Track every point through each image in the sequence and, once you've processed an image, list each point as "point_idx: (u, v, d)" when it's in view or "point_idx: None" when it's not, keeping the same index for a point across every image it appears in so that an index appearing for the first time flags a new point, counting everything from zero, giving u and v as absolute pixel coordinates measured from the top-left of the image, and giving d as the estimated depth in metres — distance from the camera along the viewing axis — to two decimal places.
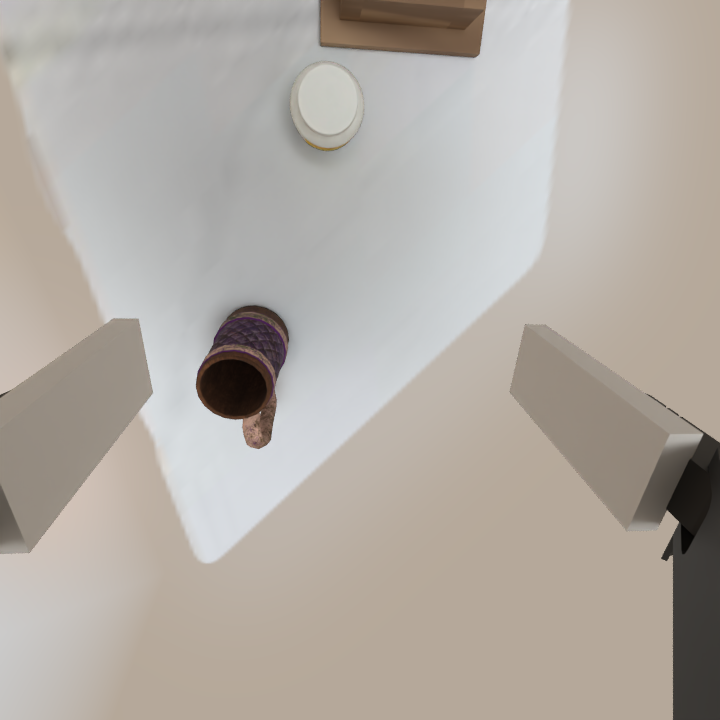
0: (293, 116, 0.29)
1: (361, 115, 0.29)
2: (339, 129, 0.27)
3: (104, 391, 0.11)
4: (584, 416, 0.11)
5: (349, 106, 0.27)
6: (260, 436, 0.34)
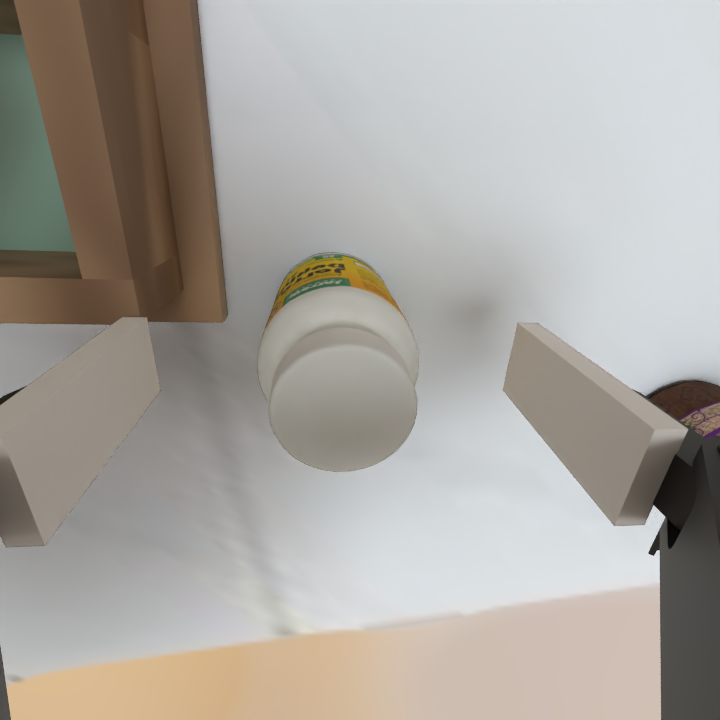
0: None
1: (357, 300, 0.12)
2: (407, 387, 0.11)
3: (114, 388, 0.11)
4: (574, 413, 0.11)
5: (356, 365, 0.10)
6: None
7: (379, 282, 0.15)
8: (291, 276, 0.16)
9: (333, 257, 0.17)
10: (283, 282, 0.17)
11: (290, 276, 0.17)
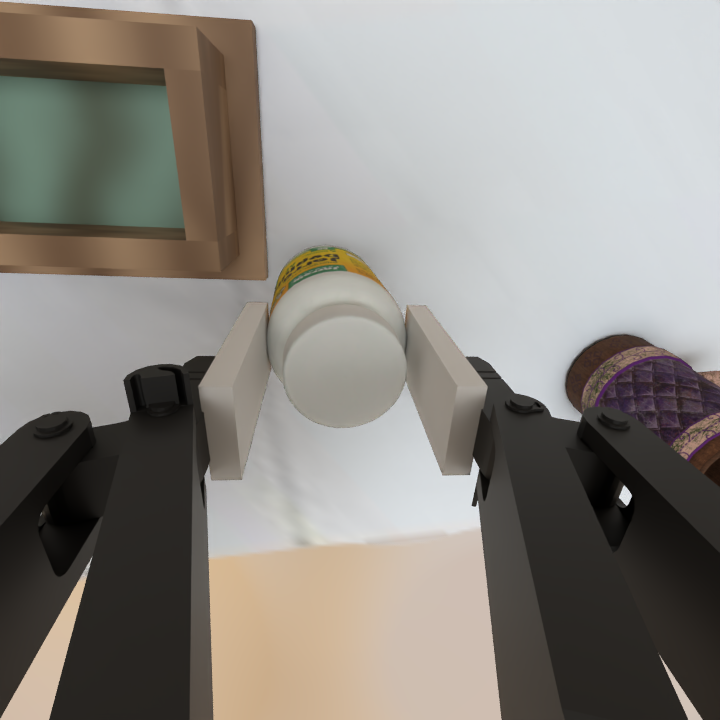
0: None
1: (354, 282, 0.14)
2: (398, 352, 0.13)
3: (259, 360, 0.13)
4: (428, 381, 0.12)
5: (356, 333, 0.12)
6: None
7: (369, 270, 0.17)
8: (290, 266, 0.18)
9: (327, 249, 0.19)
10: (282, 272, 0.19)
11: (289, 266, 0.18)
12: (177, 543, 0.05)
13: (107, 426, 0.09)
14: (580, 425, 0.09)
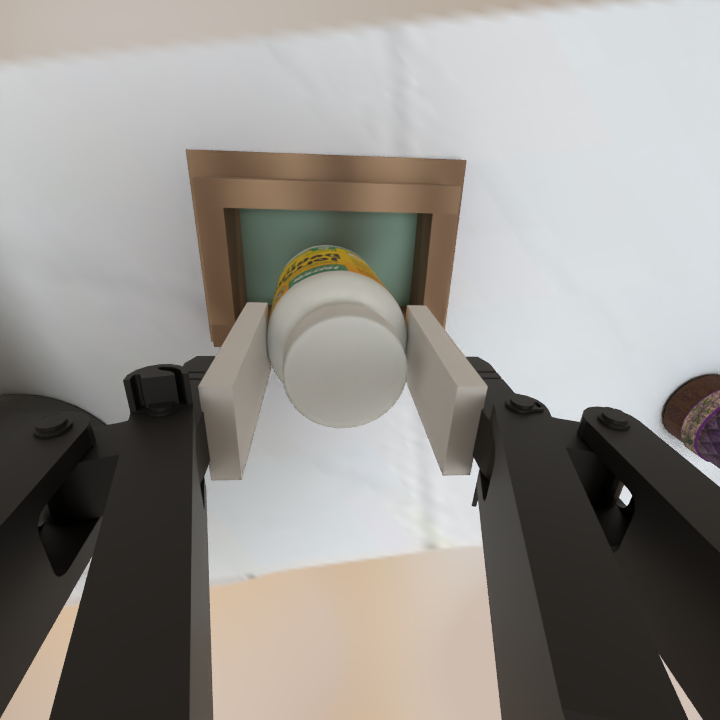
0: None
1: (354, 282, 0.14)
2: (399, 352, 0.13)
3: (258, 360, 0.13)
4: (428, 381, 0.12)
5: (356, 333, 0.12)
6: None
7: (370, 269, 0.17)
8: (291, 265, 0.18)
9: (328, 248, 0.19)
10: (283, 272, 0.19)
11: (290, 266, 0.18)
12: (176, 543, 0.05)
13: (107, 426, 0.09)
14: (580, 425, 0.09)
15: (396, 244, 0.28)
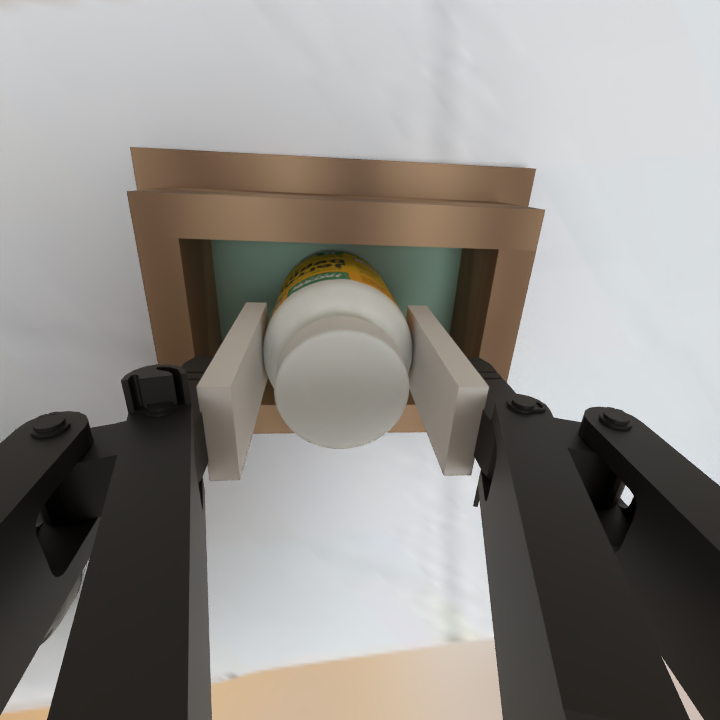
0: None
1: (356, 292, 0.13)
2: (400, 370, 0.12)
3: (257, 360, 0.13)
4: (429, 381, 0.12)
5: (353, 349, 0.11)
6: None
7: (377, 277, 0.16)
8: (294, 271, 0.17)
9: (334, 254, 0.18)
10: (287, 277, 0.18)
11: (293, 271, 0.18)
12: (174, 543, 0.05)
13: (105, 426, 0.09)
14: (582, 425, 0.09)
15: (431, 283, 0.20)
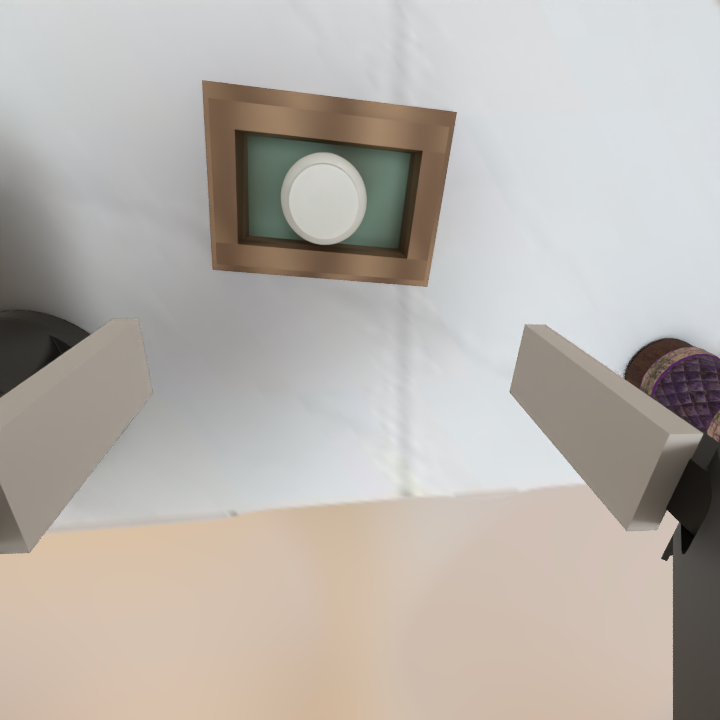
0: (334, 242, 0.26)
1: (334, 157, 0.24)
2: (354, 191, 0.22)
3: (104, 391, 0.11)
4: (584, 416, 0.11)
5: (330, 175, 0.22)
6: None
7: None
8: None
9: None
10: None
11: None
12: None
13: None
14: None
15: (389, 187, 0.31)
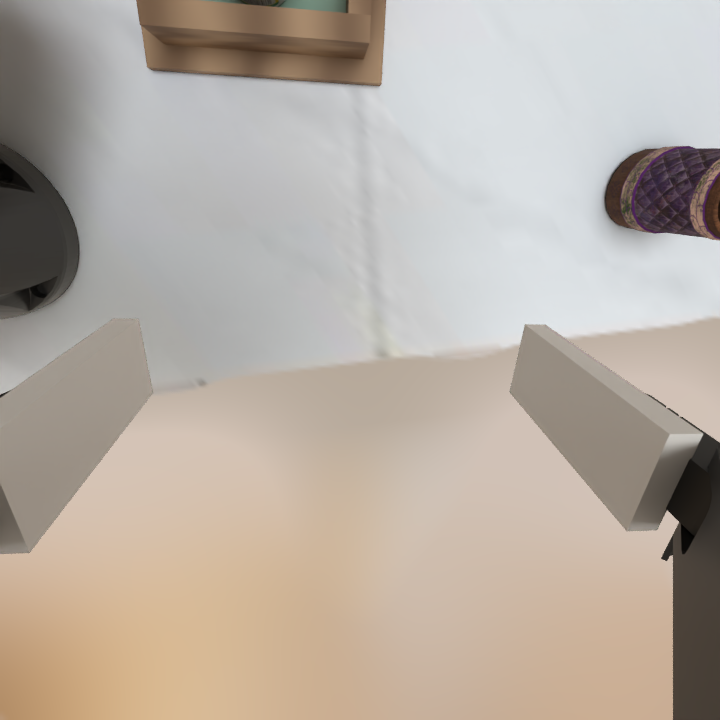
0: None
1: None
2: None
3: (104, 391, 0.11)
4: (584, 416, 0.11)
5: None
6: None
7: None
8: None
9: None
10: None
11: None
12: None
13: None
14: None
15: None
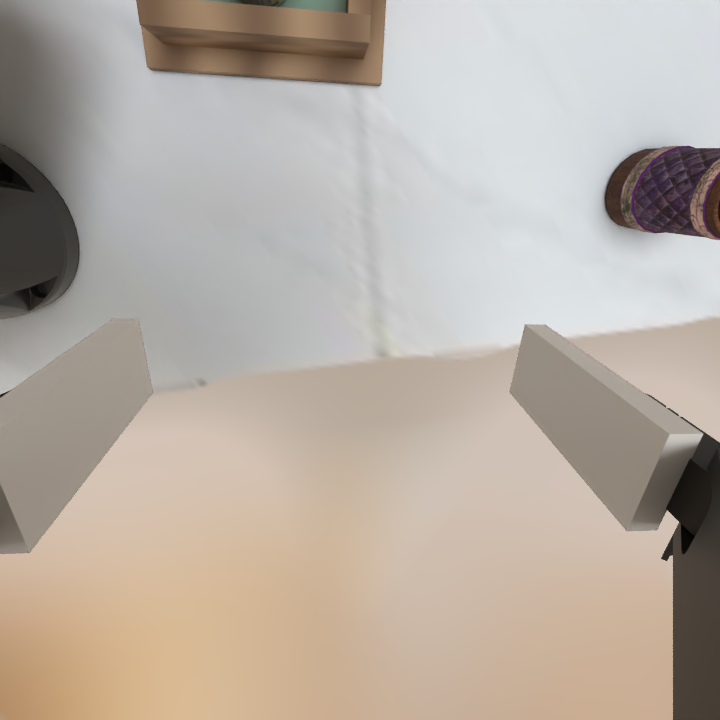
0: None
1: None
2: None
3: (104, 391, 0.11)
4: (584, 416, 0.11)
5: None
6: None
7: None
8: None
9: None
10: None
11: None
12: None
13: None
14: None
15: None
